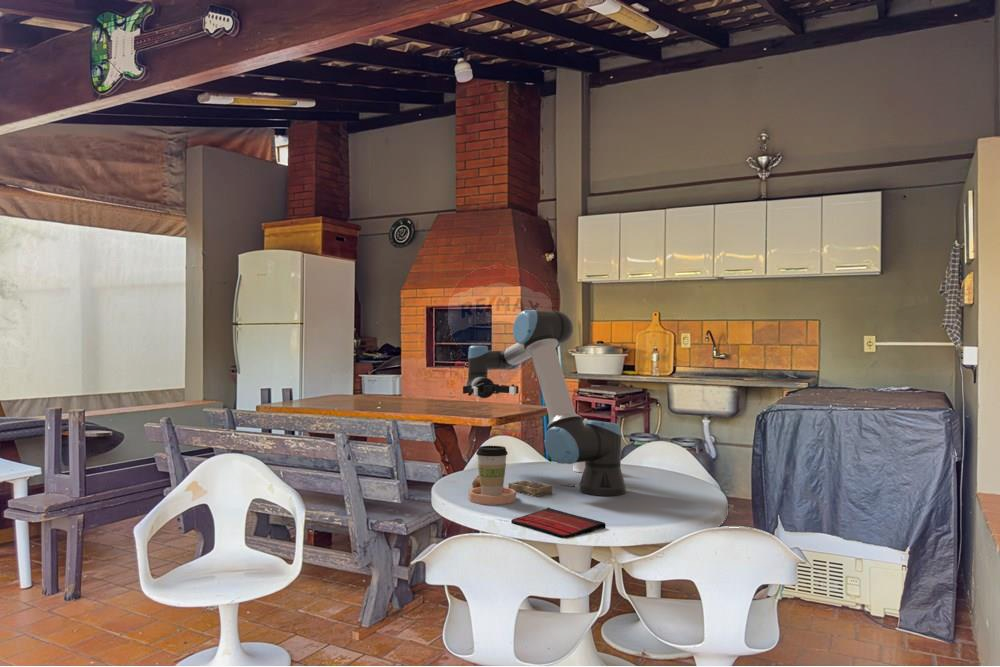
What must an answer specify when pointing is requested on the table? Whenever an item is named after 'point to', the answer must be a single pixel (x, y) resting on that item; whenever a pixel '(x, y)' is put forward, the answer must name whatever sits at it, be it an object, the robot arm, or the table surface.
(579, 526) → the binder
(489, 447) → the coffee cup
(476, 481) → the bread roll
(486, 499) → the dish
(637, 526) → the table surface
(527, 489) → the pebble tray
